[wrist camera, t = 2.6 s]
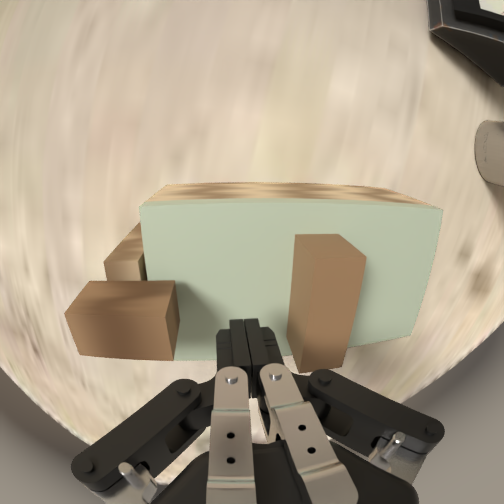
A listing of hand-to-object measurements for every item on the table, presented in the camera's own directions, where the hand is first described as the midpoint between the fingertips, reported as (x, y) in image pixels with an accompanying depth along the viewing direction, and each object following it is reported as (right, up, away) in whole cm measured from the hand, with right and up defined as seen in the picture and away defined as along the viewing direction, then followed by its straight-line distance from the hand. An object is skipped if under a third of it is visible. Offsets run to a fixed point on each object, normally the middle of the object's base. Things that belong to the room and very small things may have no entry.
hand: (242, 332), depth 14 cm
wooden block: (-7, +1, +3) cm, 8 cm away
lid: (+4, +2, +6) cm, 8 cm away
